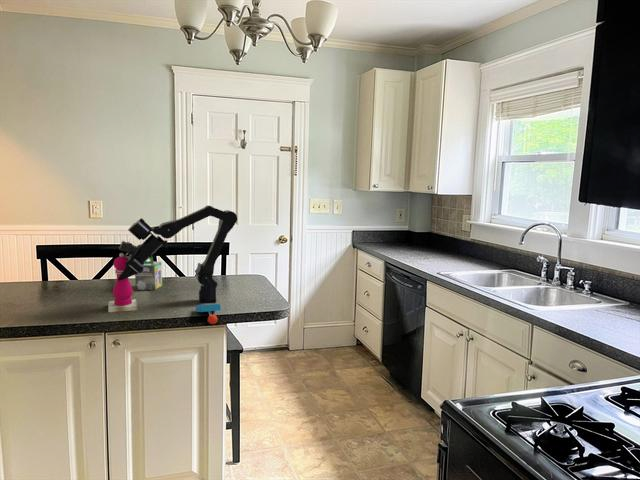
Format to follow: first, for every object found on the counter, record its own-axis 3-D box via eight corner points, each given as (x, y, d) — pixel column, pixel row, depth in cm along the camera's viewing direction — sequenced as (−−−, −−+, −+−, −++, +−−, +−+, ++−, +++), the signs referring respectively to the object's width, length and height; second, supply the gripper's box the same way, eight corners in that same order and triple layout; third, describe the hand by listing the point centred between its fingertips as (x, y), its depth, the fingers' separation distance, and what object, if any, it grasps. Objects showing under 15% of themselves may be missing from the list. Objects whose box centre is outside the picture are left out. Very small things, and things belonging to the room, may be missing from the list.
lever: (196, 324, 179) (203, 325, 162) (195, 305, 180) (202, 305, 163) (214, 322, 182) (223, 323, 165) (213, 304, 182) (222, 303, 166)
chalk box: (162, 286, 217) (162, 254, 215) (155, 290, 208) (154, 258, 206) (142, 285, 217) (142, 253, 215) (134, 290, 208) (134, 257, 206)
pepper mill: (128, 306, 177) (127, 254, 174) (109, 305, 177) (108, 254, 174) (136, 301, 184) (134, 251, 182) (117, 300, 184) (116, 251, 181)
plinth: (135, 303, 187) (135, 299, 187) (137, 310, 178) (137, 306, 178) (108, 305, 183) (108, 301, 183) (108, 312, 174) (108, 308, 174)
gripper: (131, 231, 187) (101, 259, 184) (133, 237, 170) (100, 268, 167) (152, 249, 191) (123, 277, 188) (156, 257, 174) (125, 288, 171)
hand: (118, 277), depth 179 cm, fingers open, 9 cm apart
